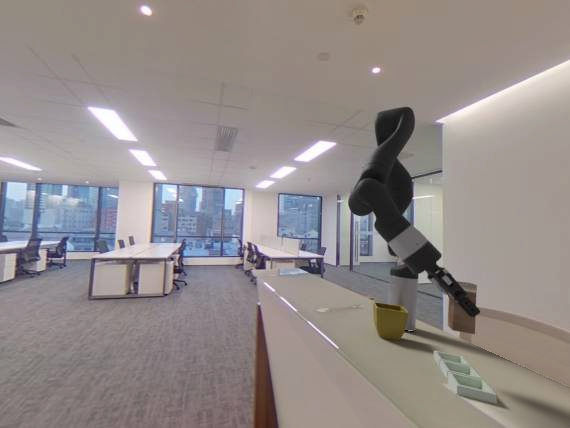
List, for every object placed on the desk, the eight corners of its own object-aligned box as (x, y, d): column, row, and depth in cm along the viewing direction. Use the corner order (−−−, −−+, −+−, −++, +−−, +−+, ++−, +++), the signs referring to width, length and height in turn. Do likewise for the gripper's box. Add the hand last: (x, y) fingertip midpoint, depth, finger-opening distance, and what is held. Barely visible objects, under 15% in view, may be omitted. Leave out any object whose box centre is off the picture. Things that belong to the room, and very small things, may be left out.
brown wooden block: (447, 325, 60) (449, 280, 61) (468, 329, 59) (470, 282, 60) (452, 330, 56) (454, 282, 57) (475, 334, 55) (476, 285, 56)
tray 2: (439, 369, 60) (440, 359, 60) (471, 376, 58) (471, 366, 58) (446, 381, 54) (447, 370, 54) (481, 389, 52) (482, 378, 52)
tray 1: (433, 358, 66) (433, 350, 66) (461, 365, 64) (461, 356, 64) (439, 368, 60) (439, 359, 60) (470, 375, 58) (470, 365, 59)
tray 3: (447, 382, 54) (448, 371, 54) (482, 390, 52) (483, 379, 52) (456, 397, 48) (457, 385, 48) (496, 407, 46) (496, 394, 46)
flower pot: (407, 345, 74) (409, 312, 75) (374, 339, 76) (376, 307, 77) (400, 336, 82) (402, 306, 83) (370, 330, 84) (372, 301, 85)
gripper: (433, 237, 55) (502, 308, 50) (421, 240, 68) (475, 296, 63) (403, 260, 56) (468, 331, 51) (397, 258, 70) (448, 315, 64)
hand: (471, 311), depth 57 cm, fingers closed on brown wooden block, 4 cm apart
